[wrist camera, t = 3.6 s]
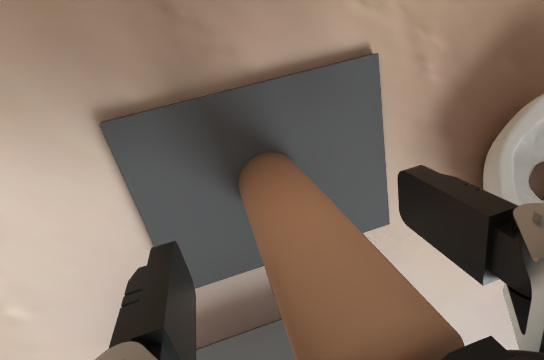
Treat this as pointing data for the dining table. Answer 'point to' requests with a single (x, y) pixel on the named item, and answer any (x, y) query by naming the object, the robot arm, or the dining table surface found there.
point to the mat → (245, 146)
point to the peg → (334, 275)
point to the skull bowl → (516, 155)
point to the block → (251, 345)
